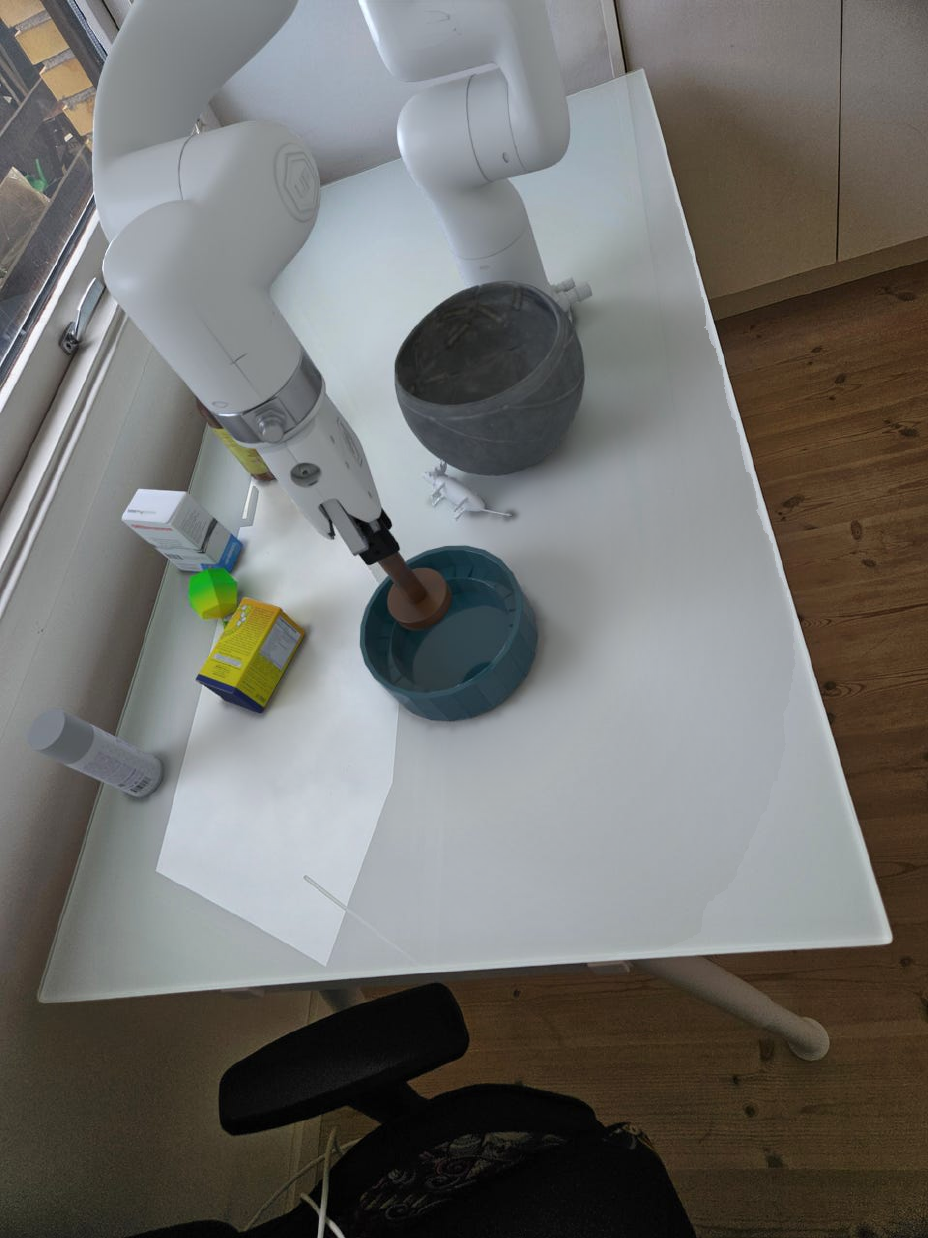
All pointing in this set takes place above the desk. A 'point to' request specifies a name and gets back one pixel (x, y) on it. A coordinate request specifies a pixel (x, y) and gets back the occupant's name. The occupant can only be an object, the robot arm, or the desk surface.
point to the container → (94, 752)
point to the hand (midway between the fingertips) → (379, 543)
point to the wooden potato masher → (415, 593)
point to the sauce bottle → (237, 447)
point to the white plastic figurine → (454, 491)
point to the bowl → (491, 378)
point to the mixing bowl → (454, 639)
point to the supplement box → (251, 654)
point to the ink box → (182, 530)
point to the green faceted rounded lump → (213, 594)
